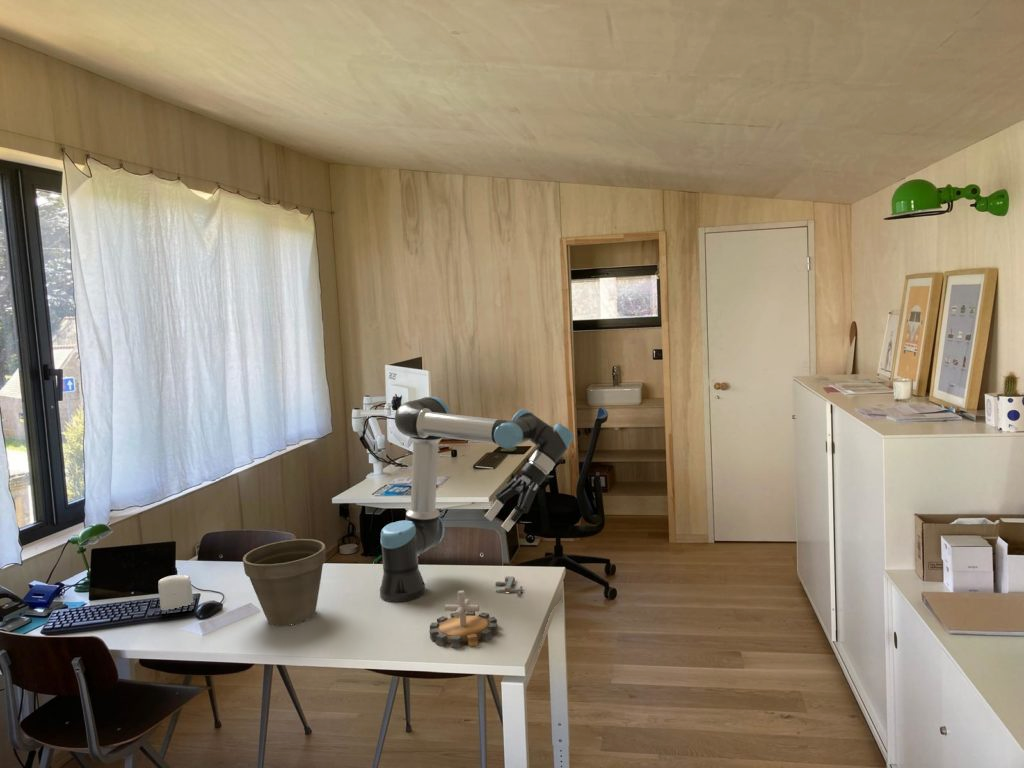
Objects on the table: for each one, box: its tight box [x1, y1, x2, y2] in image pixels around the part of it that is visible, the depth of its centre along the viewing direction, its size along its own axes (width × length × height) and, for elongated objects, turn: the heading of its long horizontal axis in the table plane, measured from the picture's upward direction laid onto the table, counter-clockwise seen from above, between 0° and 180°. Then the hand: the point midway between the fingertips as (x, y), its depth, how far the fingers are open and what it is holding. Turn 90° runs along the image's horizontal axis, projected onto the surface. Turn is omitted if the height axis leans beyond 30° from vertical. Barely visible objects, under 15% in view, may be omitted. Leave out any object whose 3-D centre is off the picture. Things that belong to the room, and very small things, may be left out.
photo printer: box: [157, 574, 194, 611], centre depth 253 cm, size 10×4×12 cm, turn 100°
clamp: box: [495, 576, 524, 597], centre depth 255 cm, size 15×2×10 cm
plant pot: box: [242, 538, 327, 627], centre depth 242 cm, size 25×25×22 cm
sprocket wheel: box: [429, 611, 499, 649], centre depth 222 cm, size 20×20×2 cm
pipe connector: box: [444, 590, 480, 626], centre depth 222 cm, size 10×10×10 cm
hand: (495, 523), depth 234 cm, fingers open, 13 cm apart
